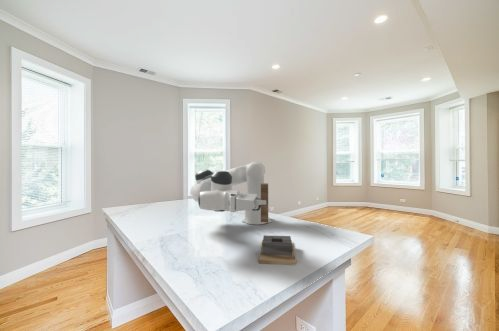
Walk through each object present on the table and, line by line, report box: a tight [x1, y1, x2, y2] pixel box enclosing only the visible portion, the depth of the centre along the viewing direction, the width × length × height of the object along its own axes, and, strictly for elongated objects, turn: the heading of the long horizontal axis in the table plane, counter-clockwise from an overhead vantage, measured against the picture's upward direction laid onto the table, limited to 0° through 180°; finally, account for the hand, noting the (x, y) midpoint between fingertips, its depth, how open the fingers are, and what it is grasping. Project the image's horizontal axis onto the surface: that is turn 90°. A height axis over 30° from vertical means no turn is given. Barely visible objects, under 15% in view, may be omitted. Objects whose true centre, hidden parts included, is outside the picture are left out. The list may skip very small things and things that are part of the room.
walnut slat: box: [261, 182, 269, 222], centre depth 98 cm, size 3×3×16 cm
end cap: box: [258, 234, 297, 266], centre depth 99 cm, size 24×14×5 cm, turn 174°
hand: (266, 201), depth 98 cm, fingers closed on walnut slat, 3 cm apart
